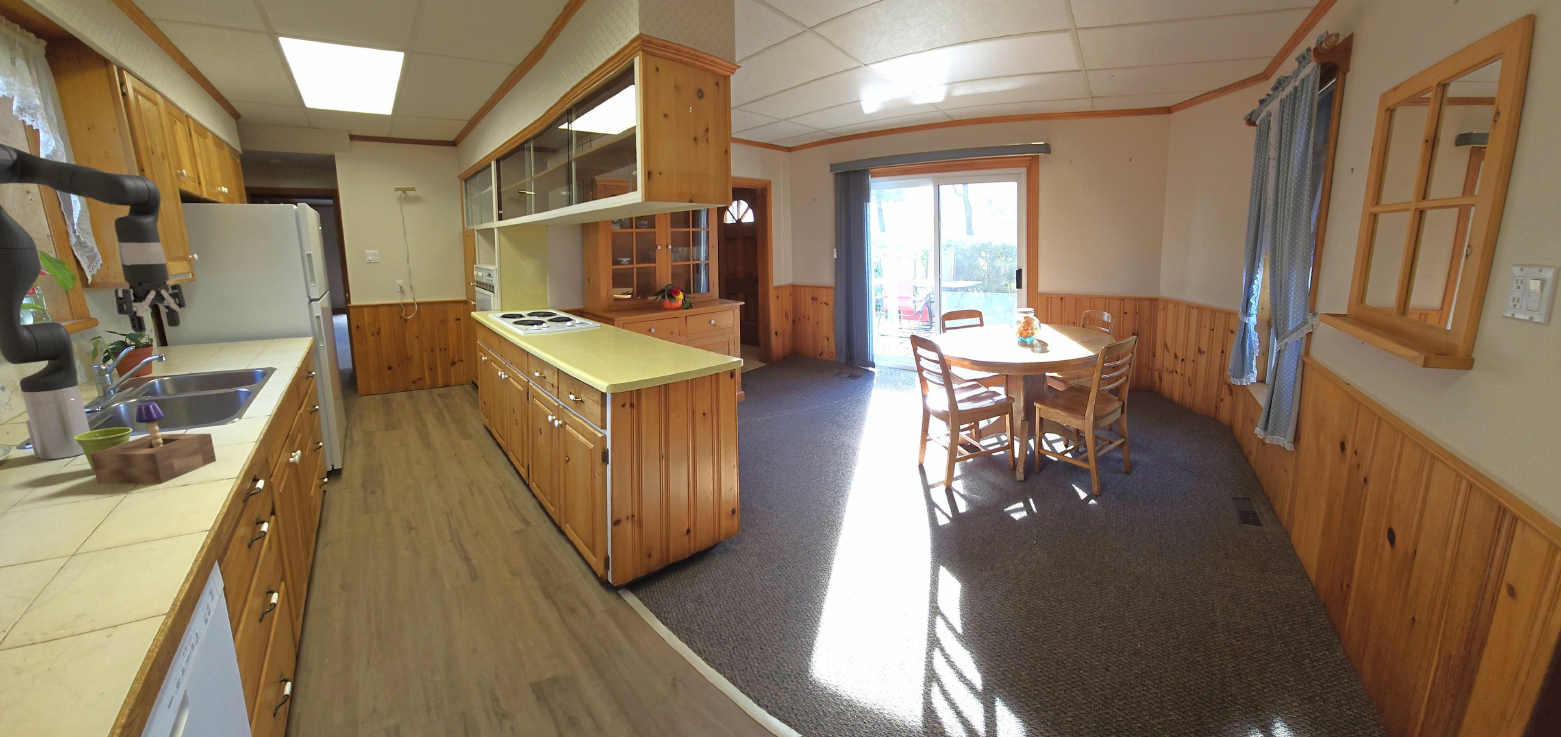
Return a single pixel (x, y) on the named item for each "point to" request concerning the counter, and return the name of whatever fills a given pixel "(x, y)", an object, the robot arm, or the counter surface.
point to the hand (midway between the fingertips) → (157, 329)
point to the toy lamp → (150, 420)
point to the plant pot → (102, 440)
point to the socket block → (153, 459)
